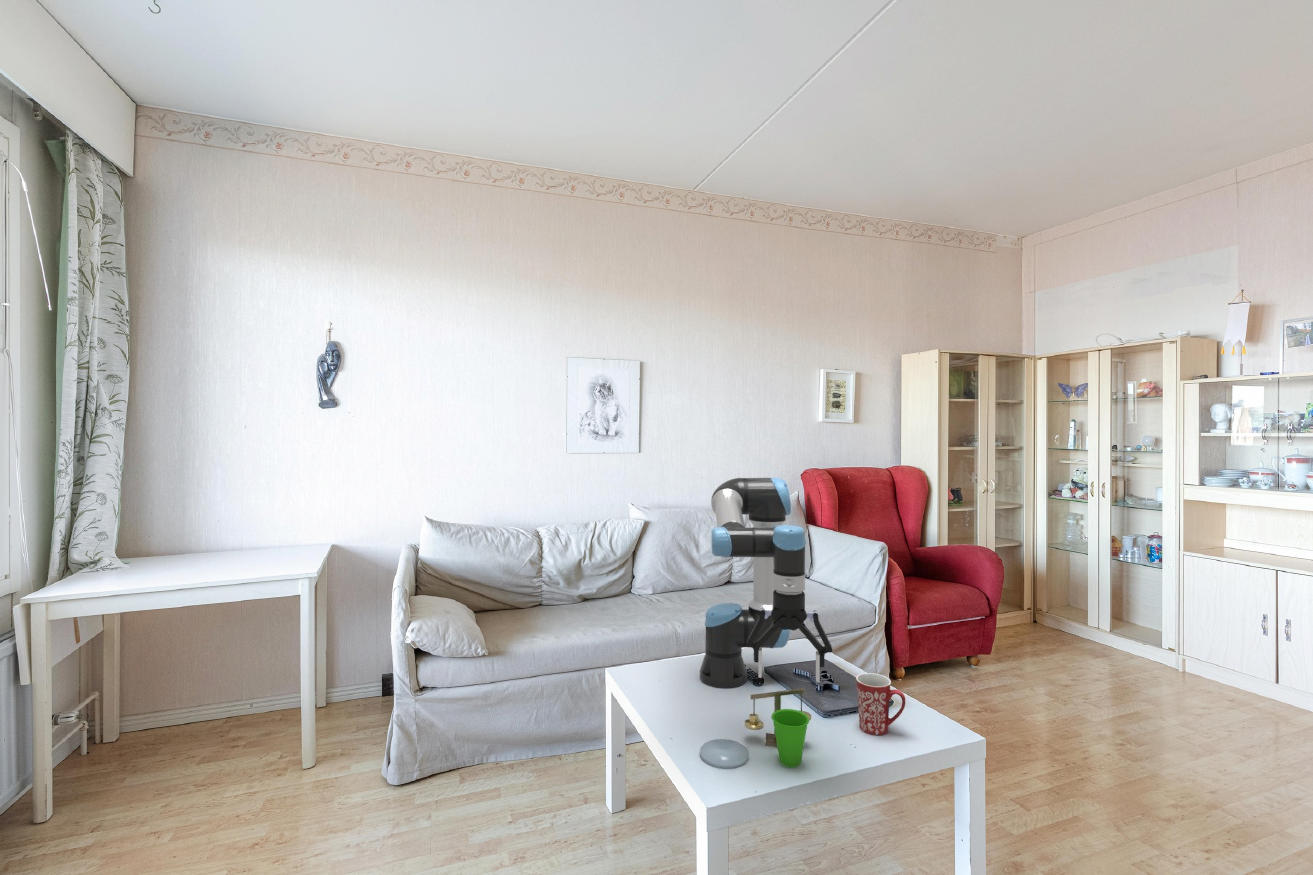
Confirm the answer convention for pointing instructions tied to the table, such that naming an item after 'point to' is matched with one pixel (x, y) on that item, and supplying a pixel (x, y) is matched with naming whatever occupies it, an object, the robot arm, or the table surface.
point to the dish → (724, 753)
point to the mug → (875, 703)
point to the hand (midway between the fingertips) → (788, 677)
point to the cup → (790, 735)
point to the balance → (757, 724)
